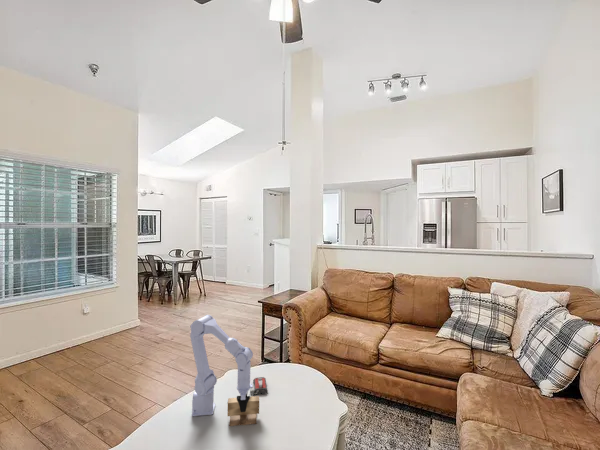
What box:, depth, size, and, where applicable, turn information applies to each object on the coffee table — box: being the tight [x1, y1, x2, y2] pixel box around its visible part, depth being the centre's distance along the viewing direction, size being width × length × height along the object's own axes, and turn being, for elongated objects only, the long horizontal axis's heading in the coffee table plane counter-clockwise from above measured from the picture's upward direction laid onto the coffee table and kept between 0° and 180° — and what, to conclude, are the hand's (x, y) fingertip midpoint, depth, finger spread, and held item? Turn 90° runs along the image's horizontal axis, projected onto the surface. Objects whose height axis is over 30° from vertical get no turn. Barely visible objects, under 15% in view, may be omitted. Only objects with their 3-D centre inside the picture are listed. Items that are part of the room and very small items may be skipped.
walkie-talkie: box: [249, 376, 268, 397], centre depth 154 cm, size 9×4×20 cm
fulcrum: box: [228, 414, 258, 427], centre depth 132 cm, size 12×8×3 cm, turn 99°
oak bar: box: [227, 395, 260, 417], centre depth 132 cm, size 14×4×6 cm, turn 99°
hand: (243, 406), depth 132 cm, fingers open, 7 cm apart
